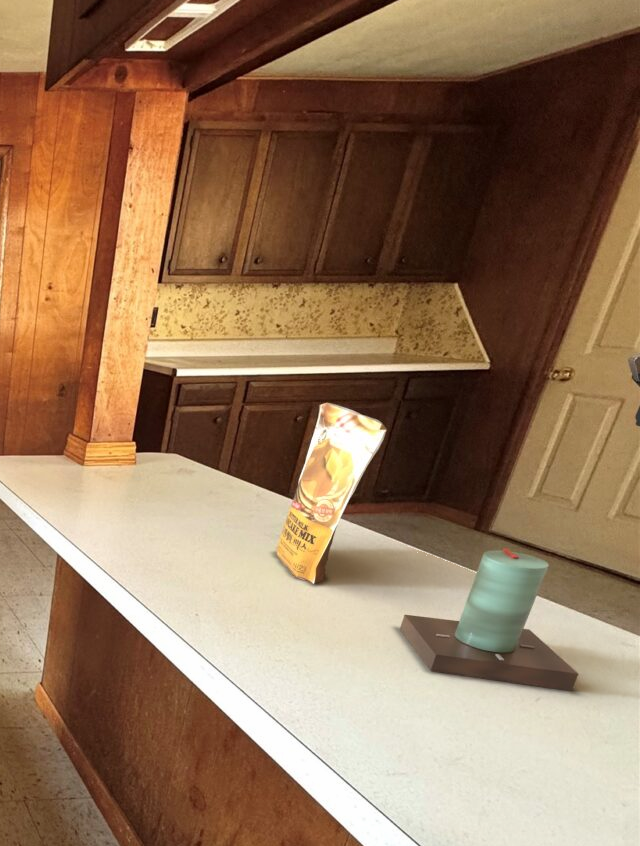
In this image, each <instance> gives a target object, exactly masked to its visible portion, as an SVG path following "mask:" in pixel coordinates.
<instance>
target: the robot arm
mask: <svg viewBox="0 0 640 846" xmlns="http://www.w3.org/2000/svg"><path fill="white" fill-rule="evenodd" d="M627 363H628V366H629V369H630V373H632V374H631V380H632V381H634V383H635V384H636V385H637V386H638V387H639V388H640V352H639V353H636V354H633V355H631V356H630V357H628V359H627ZM634 419H635V425H636V427H640V405H639V406H638V409H637V411H636V413H635V417H634Z"/></svg>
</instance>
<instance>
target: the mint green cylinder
mask: <svg viewBox="0 0 640 846" xmlns="http://www.w3.org/2000/svg"><path fill="white" fill-rule="evenodd" d="M549 567H550V564H549V563H548V562H547V561H546V560H544V559H542V558H539V557H537V556H533V555H530V554H525V553H522V552H516V551H512V550H510V548H502V550H496V549H495V550H486V551H484V552H483V554H482V556H481V560H480V562H479V565H478V567H477V571H476V573H475V576H474V579H473V582H472V584H471V587H470V589H469V592H468V597H467V598H466V601H465V604H464V606H463V610H462V612H461V615H460V618H459V620H458V621H459V624H458V626H457V629H456V632H455V637H456V638H457V639H458V640H460V641H461V642H463V643H465V644H467V645H470V646H472V647H475V648H478V649H482V650H486V651H491V652H499V653H508V652H512V651H514V650H515V649H516V646H517V644H518V641H519V639H520V636H521V634H522V631H523V629H525V626H526V623H527V621H528V619H529V616H530V613H531V612H532V609H533V606H534V603H535V601H536V598H537V596H538V593H539V591H540V588H541V586H542V584H543V581H544V579H545V576H546V574H547V571H548V569H549Z"/></svg>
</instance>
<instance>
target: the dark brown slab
mask: <svg viewBox="0 0 640 846" xmlns="http://www.w3.org/2000/svg"><path fill="white" fill-rule="evenodd" d="M459 621H460V620H453V619H445V618H438V617H437V618H436V617H430V616H429V617H428V616H420V615H412V614H404V615H403V618H402V621H401V624H400V627H399V630H400V632H401V633H402V635H403V636H404V637H405V639H406V640H407V641H408V643H409V644H410V645H411V647H412V649H414V651H415V652H416V653H417V654H418V656H419V658H420V659H421V661H422V662H423V664H424V665H425V666H426V667H427V668H428V670H429V671H430V672H436V673H442V674H449V675H457V676H464V677H471V678H475V679H477V678H479V679H484V680H490V681H497V682H504V683H505V682H506V683H512V684H518V685H527V686H534V687H539V688H545V689H546V688H547V689H553V690H560V691H568V692H572V690H573V689H574V686H575V684H576V681H577V680H578V678H579V673H578V672H577V671H576V670H575V669H574V668H573V667H572V666H571V665H570V664H568V663H567V662H566V661H565V660H564V659H563V658H562V657H560V656H559V655H558V654H557V653H556V652H555V651H554V650H553V649H551V647H549V645H548V644H546V643H545V642H544V641H543V640H542V639H541V638H540V637H538V636H537V635H536V634H535V633H534V632H533V631H532V630H531V629H529V628H524V629H523V631H522V634H521V636H520V639H519V641H518V644H517V646H516V649H515V650H514V651H512V652H508V653H499V652H491V651H486V650H482V649H478V648H475V647H472V646H470V645H467V644H465V643H463V642H461V641H460V640H458V639H457V638H456V637H455V632H456V629H457V626H458V624H459Z"/></svg>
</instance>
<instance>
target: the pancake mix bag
mask: <svg viewBox="0 0 640 846" xmlns="http://www.w3.org/2000/svg"><path fill="white" fill-rule="evenodd" d="M387 430H388V428H387V427H386V426H385V425H384V424H383V422H381V420H379V419H376V418H373V417H370V416H368V415H363V414H361V413H360V412H358V411H355V410H353V409H350V408H347V407H345V406H341V405H339V404H335V403H331V402H325V403H322V404H319V408H318V416H317V419H316V423H315V427H314V429H313V434H312V437H311V440H310V444H309V448H308V450H307V453H306V456H305V461H304V464H303V468H302V469H301V473H300V475H299V479H298V483H297V488H296V489H295V493H294V496H293V499H292V502H291V505H290V508H289V511H288V513H287V516H286V519H285V522H284V524H283V528H282V530H281V534H280V537H279V540H278V543H277V549H276V557H277V558H278V559H279V560H280V561H281V562H282V564H283V565H284V566H285V567H286V568H287V569H288V570H289V572H290V573H291V574H292V575H293V576H294V577H295V578H296V579H299V580H302V581H303V580H304V581H308V582H310V583H311V584H313V585H315V584H318V583H320V582H323V580H324V577H325V573H326V565H327V561H328V560H329V555H330V550H331V547H332V544H333V540H334V537H335V534H336V530H337V527H338V525H339V521H340V520H341V517H342V515H343V514H344V512H345V509H346V508H347V505H348V503H349V500H350V499H351V498H352V496H353V494H354V493H355V491H356V489H357V487H358V485H359V483H360V482H361V478H362V477H363V475H364V474H365V471H366V469H367V467H368V466H369V464H370V462H371V461H372V459H373V458H374V456H375V455H376V454H377V452H378V451H379V449H380V447H381V445H382V443H383V442H384V439H385V437H386V434H387Z"/></svg>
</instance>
